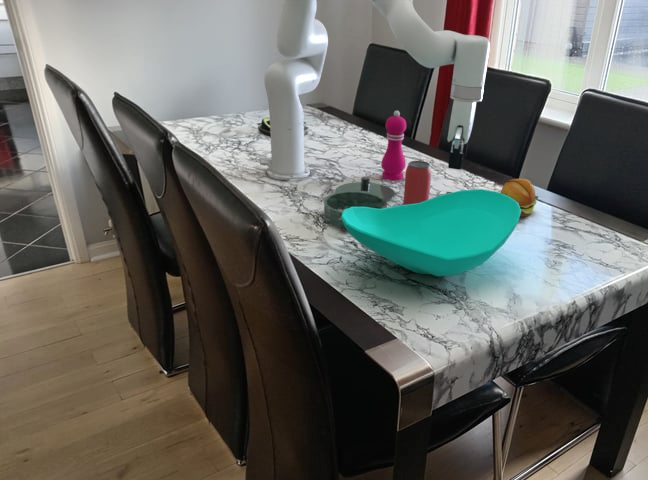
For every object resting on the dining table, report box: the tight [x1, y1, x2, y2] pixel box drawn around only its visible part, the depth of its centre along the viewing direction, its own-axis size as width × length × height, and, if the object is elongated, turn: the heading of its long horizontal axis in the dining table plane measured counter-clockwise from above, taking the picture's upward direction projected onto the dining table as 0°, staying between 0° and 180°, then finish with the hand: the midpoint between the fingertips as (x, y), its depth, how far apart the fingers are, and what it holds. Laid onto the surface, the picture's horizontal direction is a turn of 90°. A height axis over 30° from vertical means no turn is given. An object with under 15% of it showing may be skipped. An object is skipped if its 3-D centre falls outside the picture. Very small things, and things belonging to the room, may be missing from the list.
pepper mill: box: [380, 110, 407, 181], centre depth 168 cm, size 7×7×20 cm
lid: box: [334, 176, 396, 203], centre depth 158 cm, size 16×16×5 cm
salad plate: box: [256, 117, 310, 138], centre depth 213 cm, size 19×18×5 cm
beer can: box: [402, 160, 432, 205], centre depth 150 cm, size 7×7×12 cm
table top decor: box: [341, 188, 521, 277], centre depth 120 cm, size 40×28×13 cm
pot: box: [323, 191, 388, 230], centre depth 143 cm, size 15×21×4 cm
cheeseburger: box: [500, 178, 539, 217], centre depth 152 cm, size 10×11×10 cm
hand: (457, 162), depth 145 cm, fingers open, 9 cm apart
